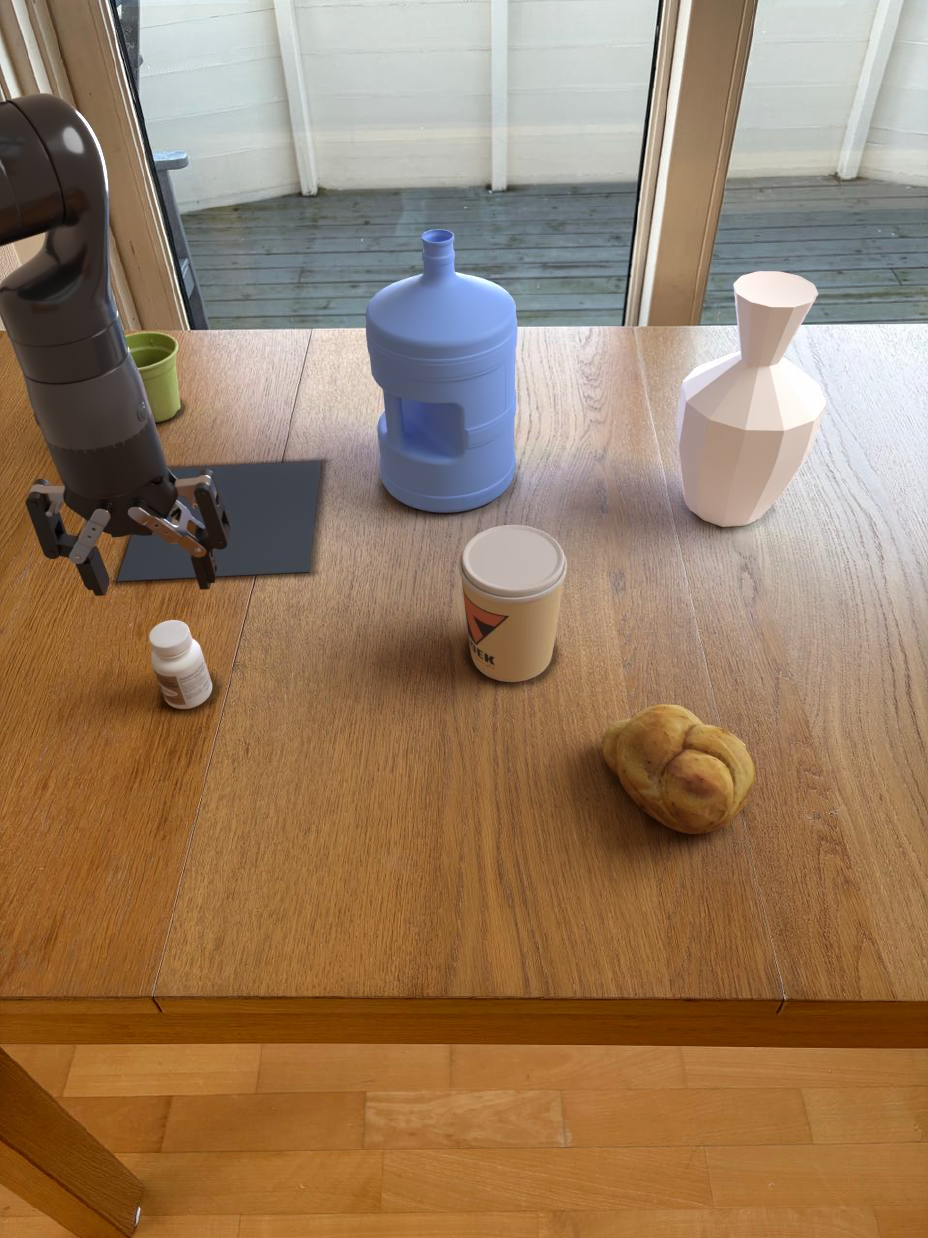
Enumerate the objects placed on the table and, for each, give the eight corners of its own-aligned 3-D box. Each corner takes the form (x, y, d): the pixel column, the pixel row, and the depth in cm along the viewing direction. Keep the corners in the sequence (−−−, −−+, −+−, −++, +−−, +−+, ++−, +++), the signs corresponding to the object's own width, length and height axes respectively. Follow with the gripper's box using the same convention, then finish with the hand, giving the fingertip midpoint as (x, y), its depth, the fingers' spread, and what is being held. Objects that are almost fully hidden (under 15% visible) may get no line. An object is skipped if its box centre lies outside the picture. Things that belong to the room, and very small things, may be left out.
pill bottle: (155, 692, 87) (133, 632, 82) (197, 667, 89) (177, 608, 84) (180, 718, 85) (158, 659, 80) (222, 693, 87) (204, 633, 82)
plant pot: (132, 439, 117) (112, 377, 111) (109, 405, 123) (89, 344, 117) (204, 416, 121) (188, 354, 115) (178, 384, 127) (162, 324, 121)
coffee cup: (447, 634, 92) (442, 538, 83) (535, 607, 94) (539, 511, 86) (485, 701, 86) (483, 605, 77) (578, 671, 88) (586, 574, 80)
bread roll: (575, 767, 80) (581, 705, 75) (654, 710, 84) (665, 647, 79) (691, 870, 73) (708, 811, 67) (772, 802, 77) (793, 741, 72)
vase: (692, 554, 99) (734, 333, 82) (646, 476, 109) (674, 265, 92) (818, 534, 101) (885, 314, 84) (761, 459, 111) (811, 249, 94)
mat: (117, 581, 98) (116, 581, 98) (153, 469, 113) (152, 468, 113) (309, 572, 99) (309, 571, 99) (321, 461, 113) (321, 460, 113)
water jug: (466, 423, 118) (461, 192, 99) (542, 485, 109) (552, 242, 89) (356, 465, 112) (327, 228, 93) (426, 534, 103) (409, 286, 83)
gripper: (204, 383, 70) (246, 552, 81) (9, 393, 69) (79, 561, 81) (188, 440, 64) (236, 612, 76) (-23, 451, 64) (56, 623, 75)
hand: (155, 586), depth 78 cm, fingers open, 8 cm apart
